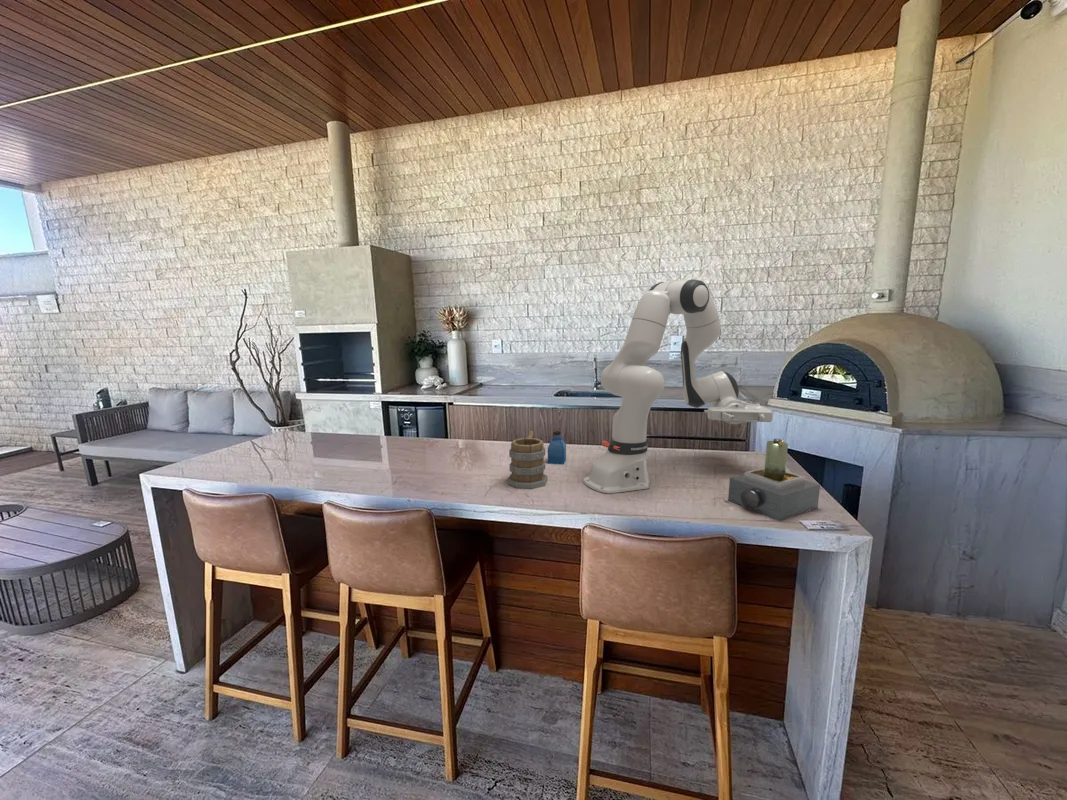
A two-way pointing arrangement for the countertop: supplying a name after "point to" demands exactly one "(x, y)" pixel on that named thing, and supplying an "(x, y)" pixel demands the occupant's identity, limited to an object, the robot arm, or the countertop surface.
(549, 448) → the perfume bottle
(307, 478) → the countertop surface
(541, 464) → the tankard
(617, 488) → the robot arm
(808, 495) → the gearbox housing
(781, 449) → the spout can
